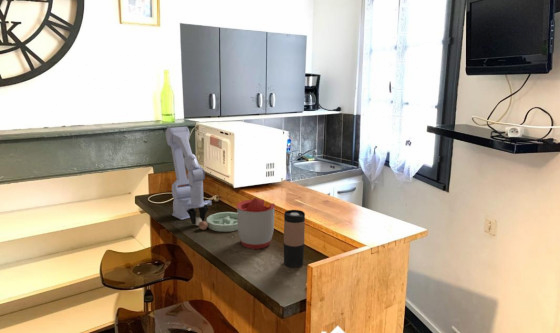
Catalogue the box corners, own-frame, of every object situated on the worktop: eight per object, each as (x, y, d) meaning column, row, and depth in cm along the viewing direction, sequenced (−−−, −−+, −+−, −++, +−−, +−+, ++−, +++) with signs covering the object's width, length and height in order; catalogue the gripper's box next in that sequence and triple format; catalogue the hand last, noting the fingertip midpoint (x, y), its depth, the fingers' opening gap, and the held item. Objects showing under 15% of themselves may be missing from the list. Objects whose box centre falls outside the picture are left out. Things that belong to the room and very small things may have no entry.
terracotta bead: (197, 229, 184) (196, 221, 183) (204, 227, 186) (204, 219, 186) (202, 231, 181) (201, 223, 180) (209, 229, 184) (209, 221, 183)
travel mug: (282, 259, 155) (283, 209, 151) (302, 258, 156) (303, 209, 151) (284, 268, 148) (285, 216, 143) (305, 268, 148) (306, 216, 144)
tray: (199, 224, 190) (199, 218, 190) (230, 215, 203) (230, 209, 202) (222, 235, 178) (222, 228, 177) (253, 224, 190) (253, 218, 189)
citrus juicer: (285, 242, 170) (286, 197, 166) (254, 255, 158) (254, 206, 154) (260, 232, 181) (260, 189, 177) (229, 243, 169) (228, 197, 165)
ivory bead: (191, 225, 189) (191, 217, 188) (199, 223, 191) (198, 215, 190) (196, 227, 186) (196, 219, 185) (204, 225, 189) (203, 217, 188)
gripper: (187, 199, 178) (188, 228, 181) (215, 193, 187) (215, 221, 190) (179, 196, 182) (180, 224, 185) (206, 190, 192) (207, 217, 195)
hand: (197, 222), depth 188 cm, fingers closed on ivory bead, 4 cm apart
